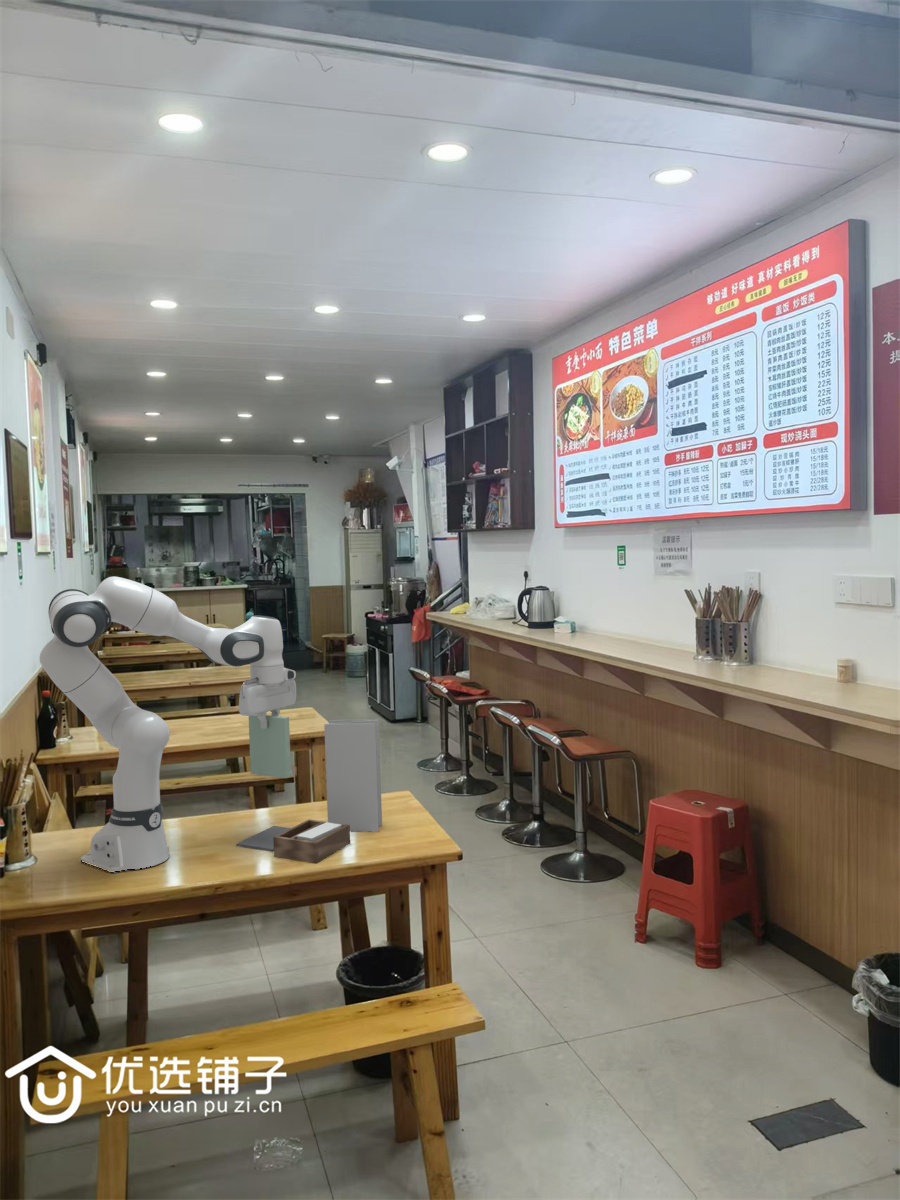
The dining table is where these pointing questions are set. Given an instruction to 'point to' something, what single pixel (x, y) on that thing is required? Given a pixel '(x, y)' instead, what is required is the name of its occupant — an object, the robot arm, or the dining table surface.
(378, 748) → the brochure
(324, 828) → the offcut upper
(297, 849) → the rack
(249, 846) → the mat
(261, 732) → the block
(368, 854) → the dining table surface
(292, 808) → the dining table surface
